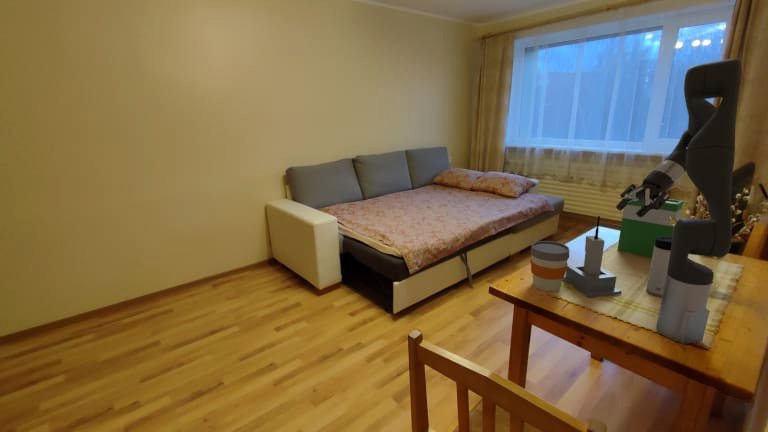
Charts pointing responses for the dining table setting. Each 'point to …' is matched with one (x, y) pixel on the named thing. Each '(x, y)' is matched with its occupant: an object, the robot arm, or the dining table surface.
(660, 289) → the travel mug
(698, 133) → the robot arm
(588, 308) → the dining table surface
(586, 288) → the box
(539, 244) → the reusable coffee cup
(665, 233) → the hardback book
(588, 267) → the vintage mobile phone
